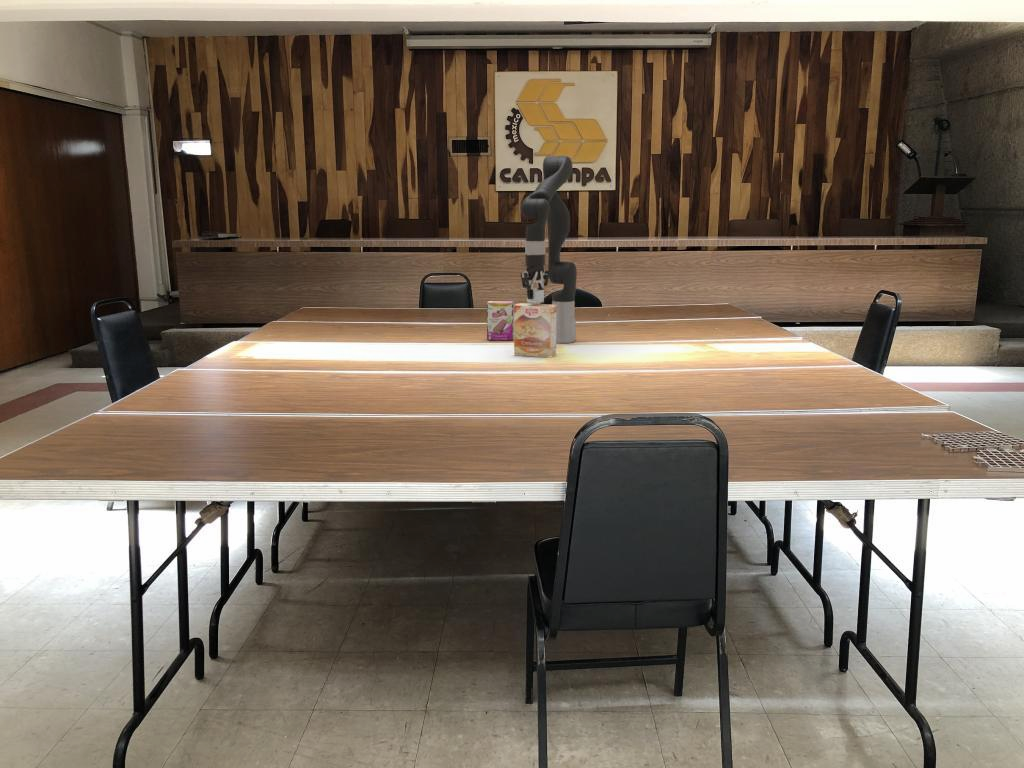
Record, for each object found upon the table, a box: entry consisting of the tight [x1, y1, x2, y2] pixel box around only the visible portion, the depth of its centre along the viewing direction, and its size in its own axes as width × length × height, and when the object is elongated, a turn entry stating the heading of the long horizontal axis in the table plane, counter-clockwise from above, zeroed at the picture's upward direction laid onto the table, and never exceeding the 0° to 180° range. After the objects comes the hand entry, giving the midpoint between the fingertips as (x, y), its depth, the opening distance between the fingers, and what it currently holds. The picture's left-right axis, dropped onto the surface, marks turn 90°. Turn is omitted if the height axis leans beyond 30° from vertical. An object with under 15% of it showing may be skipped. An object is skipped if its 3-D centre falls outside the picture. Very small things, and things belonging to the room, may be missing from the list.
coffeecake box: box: [513, 302, 557, 358], centre depth 325 cm, size 15×7×20 cm, turn 67°
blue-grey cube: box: [526, 288, 545, 304], centre depth 322 cm, size 4×4×4 cm
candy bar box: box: [486, 300, 515, 341], centre depth 359 cm, size 11×5×16 cm, turn 84°
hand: (535, 298), depth 322 cm, fingers open, 5 cm apart
